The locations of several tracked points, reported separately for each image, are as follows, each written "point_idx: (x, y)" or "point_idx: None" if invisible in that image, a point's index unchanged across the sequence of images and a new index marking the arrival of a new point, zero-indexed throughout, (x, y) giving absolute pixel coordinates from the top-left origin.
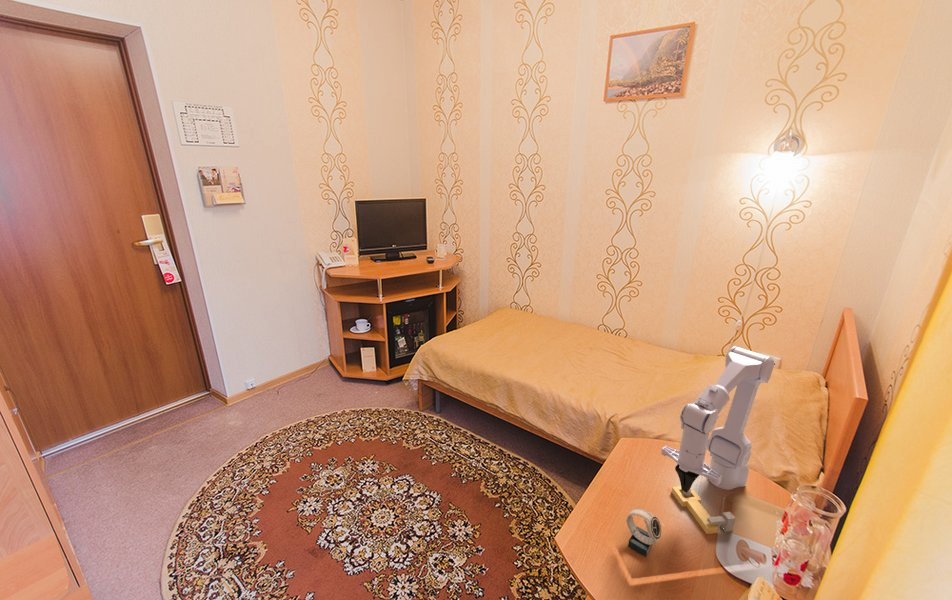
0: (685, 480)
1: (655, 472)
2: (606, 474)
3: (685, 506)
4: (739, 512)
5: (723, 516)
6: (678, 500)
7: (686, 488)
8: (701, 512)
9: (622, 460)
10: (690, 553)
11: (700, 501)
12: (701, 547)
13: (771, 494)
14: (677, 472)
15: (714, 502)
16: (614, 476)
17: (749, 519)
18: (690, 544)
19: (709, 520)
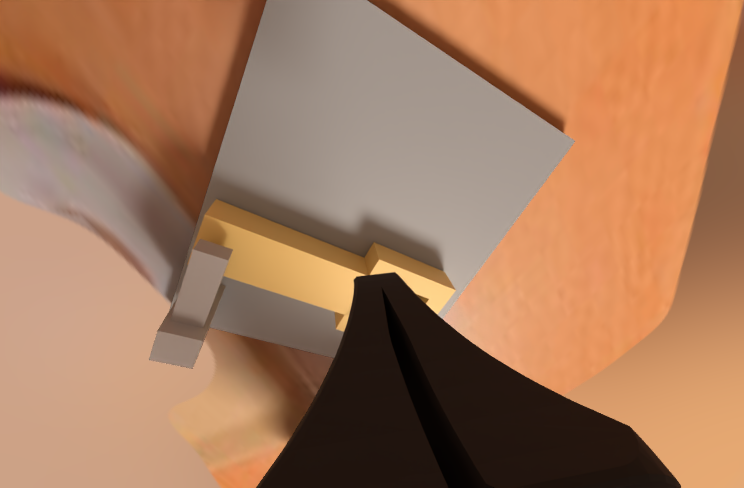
0: (396, 369)
1: (530, 305)
2: (706, 125)
3: (366, 255)
4: (248, 383)
5: (198, 326)
6: (401, 256)
7: (359, 301)
8: (289, 272)
9: (656, 254)
10: (179, 22)
11: (336, 320)
12: (186, 117)
13: (249, 484)
14: (555, 403)
15: (320, 356)
16: (668, 148)
17: (211, 384)
18: (223, 84)
19: (213, 252)
